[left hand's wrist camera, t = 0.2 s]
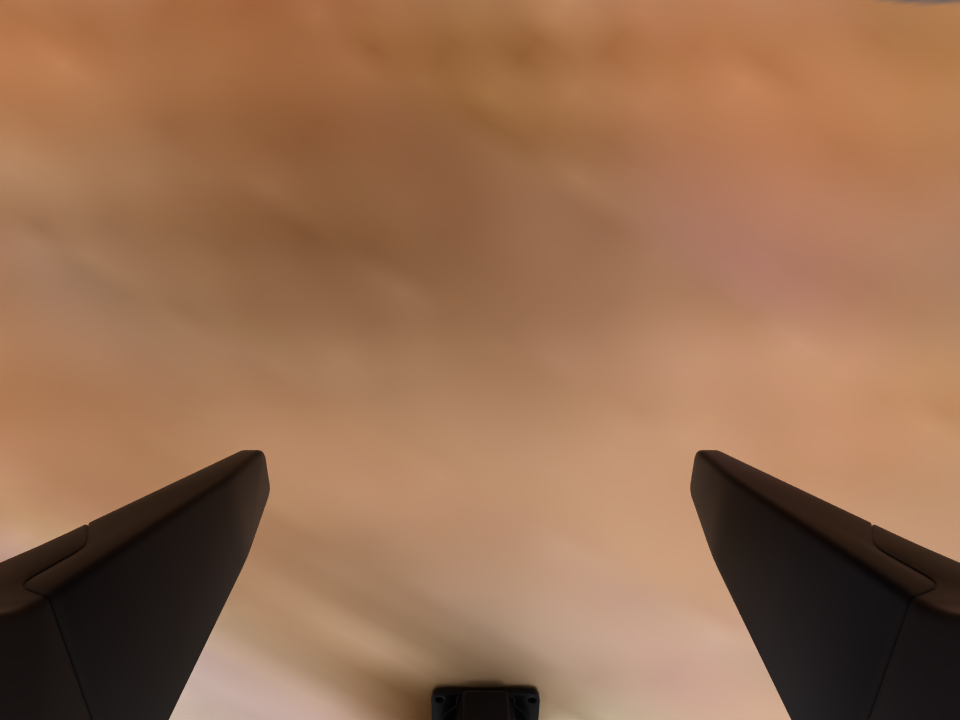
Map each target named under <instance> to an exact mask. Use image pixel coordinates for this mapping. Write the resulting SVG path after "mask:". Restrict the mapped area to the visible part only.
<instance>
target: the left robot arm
mask: <svg viewBox="0 0 960 720" xmlns="http://www.w3.org/2000/svg"><path fill="white" fill-rule="evenodd" d="M269 490H270V485H269V478H268V472H267V465H266V459H265V455H264V453H263V452H262V451H259V450H243V451H240V452H238V453H236V454H233V455H231V456H229V457H227V458H225V459H223V460H221V461H219V462H217V463H214V464H212V465H210V466H208V467H206V468H204V469H202V470H200V471H198V472H195V473H193V474H191V475H189V476H187V477H185V478H183V479H181V480H179V481H176V482H174V483H172V484H170V485H168V486H166V487H164V488H162V489H160V490H157V491H155V492H153V493H151V494H149V495H147V496H145V497H143V498H141V499H138V500H136V501H134V502H132V503H130V504H128V505H126V506H124V507H122V508H119V509H117V510H115V511H113V512H111V513H109V514H107V515H105V516H103V517H100V518H98V519H96V520H94V521H92V522H90V523H89V525H83V526H81V527H79V528H77V529H75V530H73V531H71V532H69V533H66V534H64V535H62V536H60V537H58V538H56V539H53V540H51V541H49V542H47V543H45V544H42V545H40V546H38V547H36V548H33V549H31V550H29V551H26V552H24V553H22V554H19V555H17V556H15V557H13V558H10V559H8V560H6V561H3V562H1V563H0V720H169V718H170V716H171V714H172V712H173V710H174V708H175V706H176V704H177V701H178V699H179V697H180V695H181V693H182V691H183V689H184V687H185V685H186V683H187V681H188V679H189V677H190V675H191V673H192V671H193V668H194V666H195V664H196V662H197V660H198V658H199V656H200V654H201V652H202V650H203V648H204V646H205V644H206V642H207V640H208V638H209V636H210V633H211V631H212V629H213V627H214V625H215V623H216V621H217V619H218V617H219V615H220V613H221V611H222V609H223V607H224V605H225V603H226V600H227V598H228V596H229V594H230V592H231V590H232V588H233V586H234V584H235V582H236V580H237V578H238V576H239V574H240V572H241V570H242V567H243V565H244V563H245V561H246V559H247V556H248V554H249V551H250V548H251V545H252V543H253V540H254V537H255V534H256V531H257V528H258V525H259V522H260V519H261V517H262V514H263V511H264V508H265V505H266V502H267V499H268V496H269ZM690 490H691V496H692V499H693V502H694V505H695V508H696V511H697V514H698V517H699V519H700V522H701V525H702V528H703V531H704V534H705V537H706V540H707V543H708V545H709V548H710V551H711V554H712V556H713V559H714V561H715V563H716V565H717V567H718V570H719V572H720V574H721V576H722V578H723V580H724V582H725V584H726V586H727V588H728V590H729V592H730V594H731V596H732V598H733V600H734V603H735V605H736V607H737V609H738V611H739V613H740V615H741V617H742V619H743V621H744V623H745V625H746V627H747V629H748V631H749V633H750V636H751V638H752V640H753V642H754V644H755V646H756V648H757V650H758V652H759V654H760V656H761V658H762V660H763V662H764V664H765V666H766V669H767V671H768V673H769V675H770V677H771V679H772V681H773V683H774V685H775V687H776V689H777V691H778V693H779V695H780V697H781V699H782V701H783V704H784V706H785V708H786V710H787V712H788V714H789V716H790V718H791V720H960V563H959V562H957V561H954V560H952V559H950V558H947V557H945V556H943V555H941V554H938V553H936V552H934V551H931V550H929V549H927V548H924V547H922V546H920V545H918V544H915V543H913V542H911V541H909V540H907V539H904V538H902V537H900V536H898V535H896V534H894V533H891V532H889V531H887V530H885V529H883V528H881V527H879V526H877V525H871V523H870V522H868V521H866V520H864V519H862V518H860V517H857V516H855V515H853V514H851V513H849V512H847V511H845V510H843V509H841V508H838V507H836V506H834V505H832V504H830V503H828V502H826V501H824V500H822V499H819V498H817V497H815V496H813V495H811V494H809V493H807V492H805V491H803V490H800V489H798V488H796V487H794V486H792V485H790V484H788V483H786V482H784V481H781V480H779V479H777V478H775V477H773V476H771V475H769V474H767V473H765V472H762V471H760V470H758V469H756V468H754V467H752V466H750V465H748V464H746V463H743V462H741V461H739V460H737V459H735V458H733V457H731V456H729V455H727V454H724V453H722V452H720V451H717V450H700V451H698V452H697V453H696V455H695V459H694V465H693V472H692V478H691V485H690ZM539 703H540V699H539V692H538V691H537V690H535V689H531V688H436V689H434V690H433V692H432V720H538V717H539Z"/></svg>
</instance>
